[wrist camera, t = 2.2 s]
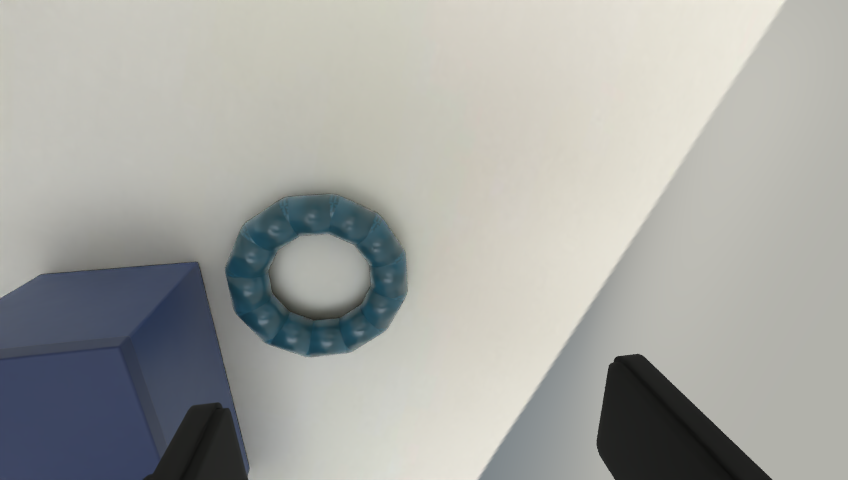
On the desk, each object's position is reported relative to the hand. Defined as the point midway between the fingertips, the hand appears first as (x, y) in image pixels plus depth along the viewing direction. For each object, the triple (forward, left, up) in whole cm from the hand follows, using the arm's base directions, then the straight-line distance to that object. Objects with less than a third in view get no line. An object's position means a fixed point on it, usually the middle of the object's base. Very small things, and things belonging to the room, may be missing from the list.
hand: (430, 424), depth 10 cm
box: (+5, -11, -9) cm, 15 cm away
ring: (0, -3, -9) cm, 9 cm away
